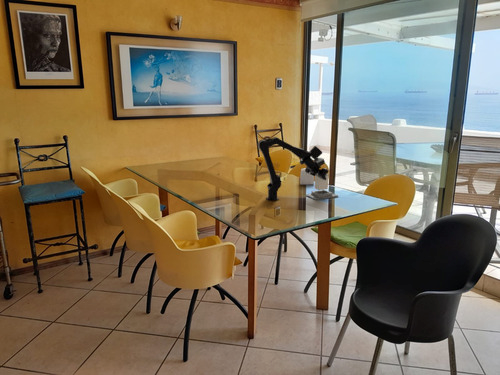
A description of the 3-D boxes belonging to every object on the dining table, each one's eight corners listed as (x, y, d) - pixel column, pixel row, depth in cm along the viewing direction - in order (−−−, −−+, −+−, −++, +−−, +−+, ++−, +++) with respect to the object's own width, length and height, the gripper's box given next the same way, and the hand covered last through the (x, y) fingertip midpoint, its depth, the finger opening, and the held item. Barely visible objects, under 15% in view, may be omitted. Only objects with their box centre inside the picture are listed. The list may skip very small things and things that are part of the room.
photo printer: (300, 184, 279) (301, 168, 276) (299, 183, 283) (300, 167, 280) (314, 184, 279) (315, 168, 276) (313, 183, 283) (314, 167, 280)
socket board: (305, 195, 249) (305, 191, 248) (326, 192, 257) (327, 188, 256) (315, 200, 238) (316, 195, 238) (338, 197, 246) (338, 192, 245)
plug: (314, 188, 248) (315, 173, 246) (323, 187, 251) (323, 172, 249) (319, 190, 244) (319, 175, 241) (327, 189, 247) (328, 174, 244)
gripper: (327, 156, 232) (339, 172, 239) (309, 152, 248) (322, 167, 255) (316, 170, 230) (329, 185, 238) (299, 165, 246) (312, 179, 254)
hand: (323, 178), depth 246 cm, fingers closed on plug, 5 cm apart
